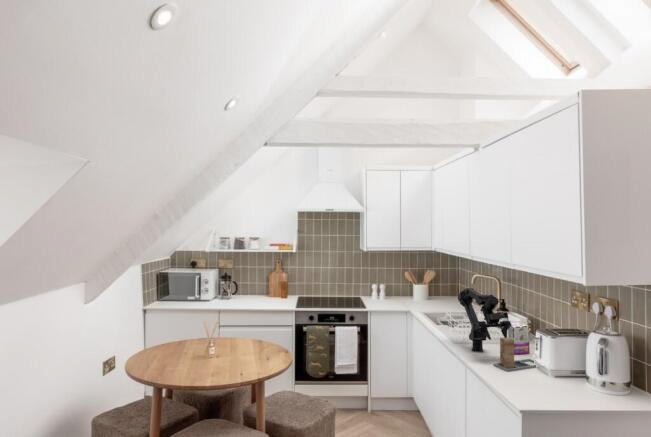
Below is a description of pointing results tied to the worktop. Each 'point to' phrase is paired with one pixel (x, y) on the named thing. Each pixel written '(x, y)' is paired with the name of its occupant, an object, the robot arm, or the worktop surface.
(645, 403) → the worktop surface
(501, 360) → the walnut block
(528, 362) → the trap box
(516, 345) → the candy bar box
